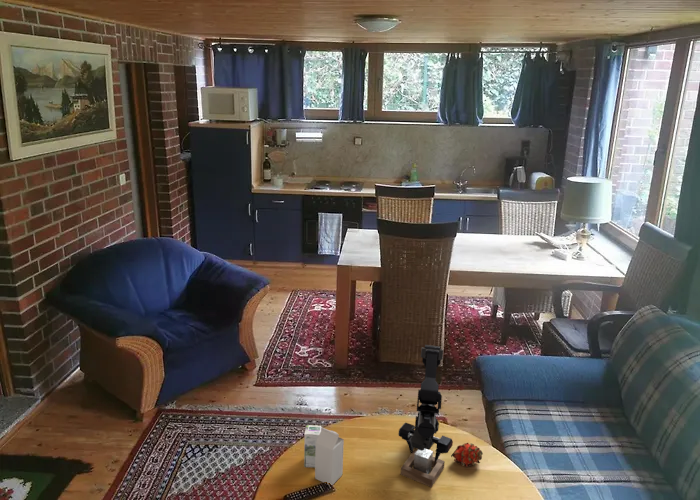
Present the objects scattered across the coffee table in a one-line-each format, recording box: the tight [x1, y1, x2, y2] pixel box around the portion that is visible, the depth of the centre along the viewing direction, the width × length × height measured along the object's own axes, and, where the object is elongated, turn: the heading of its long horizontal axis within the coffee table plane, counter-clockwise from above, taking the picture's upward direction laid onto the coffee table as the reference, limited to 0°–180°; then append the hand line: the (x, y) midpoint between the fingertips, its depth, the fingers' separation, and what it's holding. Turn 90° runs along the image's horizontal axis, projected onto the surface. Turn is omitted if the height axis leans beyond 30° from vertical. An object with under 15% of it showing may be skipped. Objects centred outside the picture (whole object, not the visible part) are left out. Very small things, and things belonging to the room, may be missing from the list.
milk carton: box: [314, 427, 345, 486], centre depth 193 cm, size 7×7×19 cm
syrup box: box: [303, 424, 322, 469], centre depth 201 cm, size 6×6×14 cm
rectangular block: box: [413, 448, 434, 474], centre depth 199 cm, size 5×5×8 cm
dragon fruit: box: [450, 442, 484, 468], centre depth 205 cm, size 8×8×12 cm
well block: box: [400, 449, 446, 488], centre depth 200 cm, size 12×12×3 cm
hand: (423, 457), depth 199 cm, fingers open, 9 cm apart
